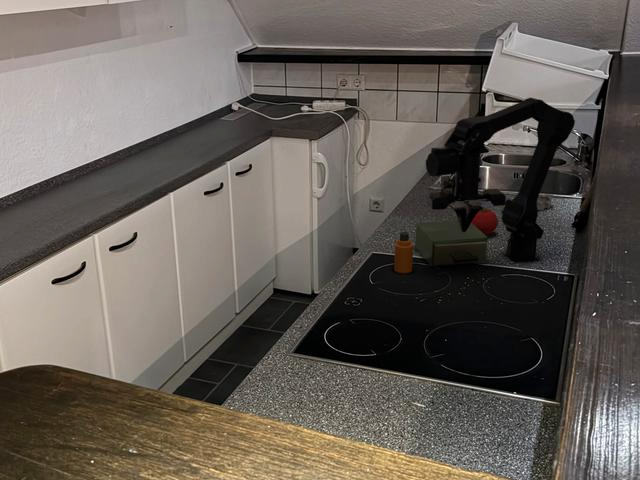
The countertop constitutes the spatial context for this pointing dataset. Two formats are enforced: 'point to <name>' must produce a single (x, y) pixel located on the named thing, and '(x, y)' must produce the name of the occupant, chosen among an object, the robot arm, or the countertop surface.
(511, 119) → the robot arm
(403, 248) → the bottle
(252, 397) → the countertop surface
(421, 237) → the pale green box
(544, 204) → the egg carton
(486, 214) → the tomato
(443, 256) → the drawer
